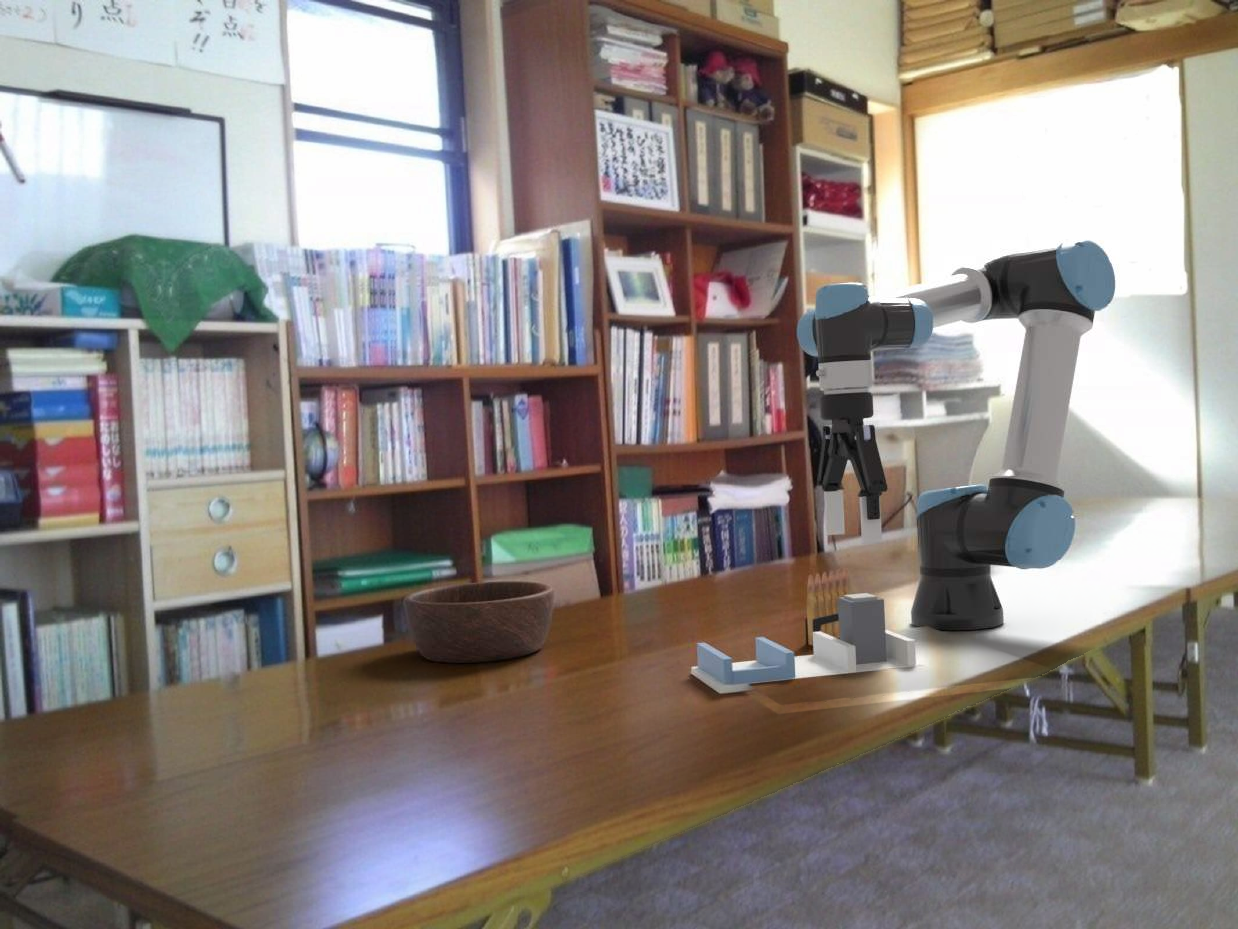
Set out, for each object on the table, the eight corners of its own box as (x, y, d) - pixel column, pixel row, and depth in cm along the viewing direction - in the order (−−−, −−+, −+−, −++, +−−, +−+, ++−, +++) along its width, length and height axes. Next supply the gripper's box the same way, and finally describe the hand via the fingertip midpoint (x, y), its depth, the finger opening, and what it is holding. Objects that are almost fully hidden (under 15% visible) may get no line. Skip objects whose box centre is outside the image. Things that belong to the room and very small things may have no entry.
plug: (872, 655, 184) (869, 592, 184) (886, 661, 180) (883, 596, 179) (840, 658, 183) (837, 594, 183) (854, 664, 179) (851, 599, 178)
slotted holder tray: (881, 654, 190) (880, 624, 190) (923, 672, 176) (922, 640, 176) (691, 673, 183) (689, 643, 183) (719, 693, 170) (718, 660, 169)
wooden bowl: (376, 659, 209) (372, 597, 208) (489, 634, 227) (486, 577, 227) (474, 674, 192) (470, 608, 191) (587, 646, 210) (584, 585, 210)
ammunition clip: (814, 652, 194) (811, 575, 194) (805, 651, 196) (801, 574, 195) (856, 641, 201) (853, 567, 201) (847, 639, 203) (844, 566, 202)
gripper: (791, 395, 192) (798, 533, 193) (855, 390, 167) (862, 548, 168) (837, 392, 193) (844, 529, 194) (907, 388, 169) (914, 544, 170)
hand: (853, 538), depth 181 cm, fingers open, 13 cm apart
